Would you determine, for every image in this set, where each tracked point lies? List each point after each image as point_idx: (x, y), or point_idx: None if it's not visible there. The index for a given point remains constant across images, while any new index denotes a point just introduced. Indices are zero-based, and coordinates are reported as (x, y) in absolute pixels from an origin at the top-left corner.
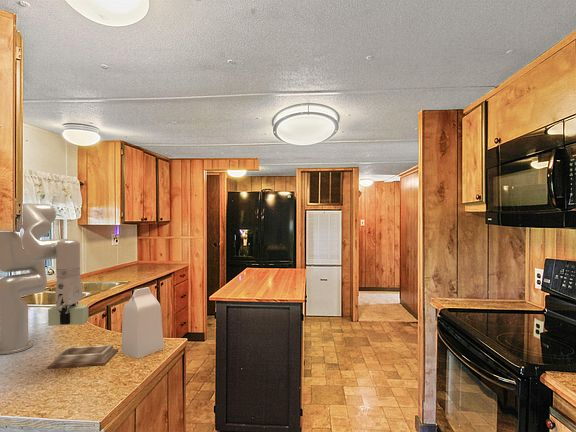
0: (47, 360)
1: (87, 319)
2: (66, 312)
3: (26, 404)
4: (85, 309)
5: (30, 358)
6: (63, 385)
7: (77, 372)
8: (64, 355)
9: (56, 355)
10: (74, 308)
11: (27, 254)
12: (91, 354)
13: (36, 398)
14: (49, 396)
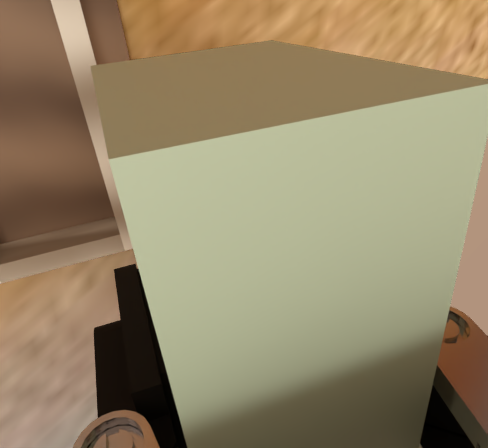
0: (72, 309)
1: (128, 66)
2: (464, 322)
3: (461, 60)
4: (291, 95)
5: (64, 394)
6: (342, 6)
7: (203, 27)
8: (116, 205)
9: (121, 251)
10: (451, 298)
11: None
12: (72, 9)
13: (428, 54)
14: (427, 4)
